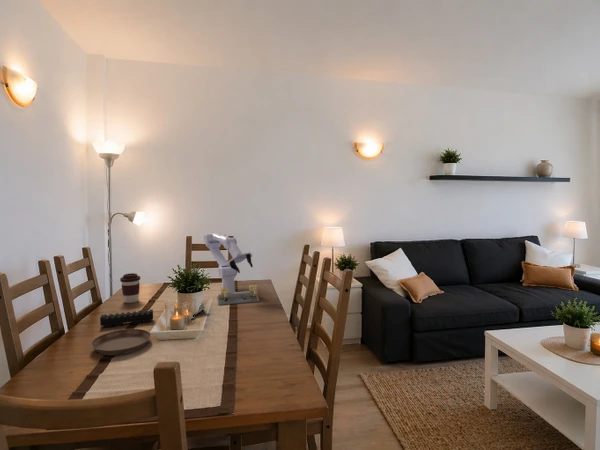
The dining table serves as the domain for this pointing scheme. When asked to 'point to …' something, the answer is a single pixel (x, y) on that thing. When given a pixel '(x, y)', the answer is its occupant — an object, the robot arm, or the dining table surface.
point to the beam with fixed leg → (232, 294)
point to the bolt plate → (237, 300)
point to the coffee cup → (130, 287)
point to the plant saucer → (121, 341)
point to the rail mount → (126, 318)
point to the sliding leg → (253, 290)
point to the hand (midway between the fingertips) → (245, 268)
